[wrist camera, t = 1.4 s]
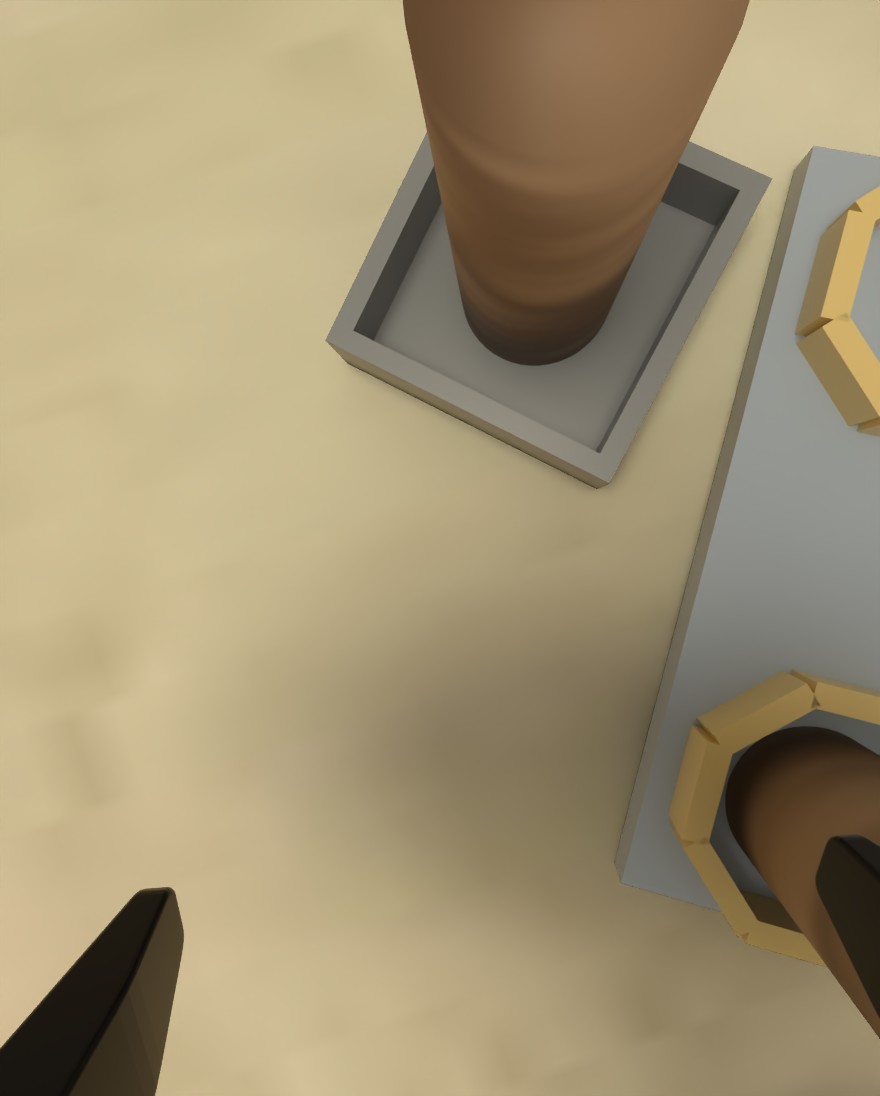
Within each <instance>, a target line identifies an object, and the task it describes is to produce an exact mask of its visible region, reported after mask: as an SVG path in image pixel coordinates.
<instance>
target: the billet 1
mask: <svg viewBox="0 0 880 1096" xmlns="http://www.w3.org/2000/svg"><path fill="white" fill-rule="evenodd" d="M748 4H749V0H403V7H404V16H405V25H406V30H407V35H408V39H409V44H410V49H411V54H412V59H413V64H414V69H415V74H416V79H417V84H418V89H419V93H420V98H421V103H422V108H423V113H424V118H425V123H426V128H427V133H428V138H429V143H430V147H431V152H432V157H433V162H434V167H435V172H436V177H437V182H438V187H439V192H440V196H441V201H442V206H443V211H444V216H445V221H446V226H447V231H448V236H449V241H450V246H451V250H452V255H453V260H454V265H455V270H456V275H457V280H458V285H459V290H460V295H461V300H462V304H463V309H464V313H465V317H466V319H467V322H468V324H469V326H470V328H471V330H472V332H473V333H474V335H475V336H476V337H477V339H478V340H479V341H480V342H481V343H482V344H483V345H484V346H485V347H486V348H487V349H488V350H489V351H491V352H492V353H493V354H495V355H497V356H499V357H500V358H502V359H505V360H507V361H509V362H513V363H516V364H520V365H528V366H540V365H547V364H552V363H556V362H559V361H562V360H564V359H567V358H569V357H571V356H572V355H574V354H576V353H577V352H579V351H580V350H581V349H583V348H584V347H585V346H586V345H587V344H588V343H589V342H590V341H591V340H592V339H593V338H594V337H595V336H596V334H597V333H598V332H599V330H600V329H601V327H602V326H603V324H604V322H605V320H606V318H607V316H608V313H609V311H610V309H611V307H612V305H613V303H614V301H615V298H616V296H617V294H618V292H619V290H620V288H621V286H622V283H623V281H624V279H625V277H626V275H627V273H628V270H629V268H630V266H631V264H632V262H633V260H634V258H635V255H636V253H637V251H638V249H639V247H640V245H641V242H642V240H643V238H644V236H645V234H646V232H647V230H648V227H649V225H650V223H651V221H652V219H653V217H654V214H655V212H656V210H657V208H658V206H659V204H660V202H661V199H662V197H663V195H664V193H665V191H666V189H667V187H668V184H669V182H670V180H671V178H672V176H673V174H674V171H675V169H676V167H677V165H678V163H679V161H680V159H681V156H682V154H683V152H684V150H685V148H686V146H687V143H688V141H689V139H690V137H691V135H692V133H693V131H694V128H695V126H696V124H697V122H698V120H699V118H700V116H701V113H702V111H703V109H704V107H705V105H706V103H707V100H708V98H709V96H710V94H711V92H712V90H713V88H714V85H715V83H716V81H717V79H718V77H719V75H720V72H721V70H722V68H723V66H724V64H725V62H726V60H727V57H728V55H729V53H730V51H731V49H732V47H733V44H734V42H735V40H736V38H737V35H738V33H739V31H740V29H741V26H742V24H743V20H744V17H745V14H746V10H747V7H748Z"/></svg>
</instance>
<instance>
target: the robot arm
mask: <svg viewBox="0 0 880 1096" xmlns="http://www.w3.org/2000/svg"><path fill="white" fill-rule="evenodd" d="M815 884H816V889H817V892H818V895H819V897H820V899H821V901H822V904H823V906H824V908H825V910H826V912H827V914H828V916H829V918H830V920H831V922H832V924H833V926H834V928H835V930H836V932H837V935H838V937H839V939H840V941H841V943H842V945H843V947H844V949H845V951H846V953H847V955H848V957H849V959H850V961H851V963H852V966H853V968H854V970H855V972H856V974H857V976H858V978H859V980H860V982H861V984H862V986H863V988H864V990H865V992H866V994H867V996H868V998H869V1000H870V1002H871V1004H872V1006H873V1008H874V1010H875V1012H876V1014H877V1015H878V1017H879V1019H880V846H879V845H877V844H876V843H874V842H873V841H871V840H869V839H868V838H866V837H864V836H861V835H857V834H850V835H837V836H832V837H831V838H829V839H828V841H827V843H826V845H825V848H824V851H823V854H822V857H821V860H820V863H819V866H818V869H817V872H816V875H815ZM183 942H184V930H183V925H182V921H181V916H180V912H179V907H178V903H177V898H176V894H175V892H174V890H173V889H172V888H170V887H162V888H149V889H143V890H140V891H139V892H137V893H136V894H135V895H134V896H133V897H132V898H131V899H130V900H129V902H128V903H127V904H126V905H125V906H124V907H123V908H122V910H121V911H120V912H119V913H118V914H117V915H116V916H115V918H114V919H113V920H112V921H111V922H110V923H109V924H108V926H107V927H106V928H105V929H104V930H103V931H102V932H101V934H100V935H99V936H98V937H97V938H96V939H95V940H94V942H93V943H92V944H91V945H90V946H89V947H88V948H87V950H86V951H85V952H84V953H83V954H82V955H81V957H80V958H79V959H78V960H77V961H76V962H75V963H74V965H73V966H72V967H71V968H70V969H69V970H68V971H67V973H66V974H65V975H64V976H63V977H62V978H61V979H60V981H59V982H58V983H57V984H56V985H55V986H54V987H53V989H52V990H51V991H50V992H49V993H48V994H47V995H46V997H45V998H44V999H43V1000H42V1001H41V1002H40V1003H39V1005H38V1006H37V1007H36V1008H35V1009H34V1010H33V1012H32V1013H31V1014H30V1015H29V1016H28V1017H27V1018H26V1020H25V1021H24V1022H23V1023H22V1024H21V1025H20V1026H19V1028H18V1029H17V1030H16V1031H15V1032H14V1033H13V1034H12V1036H11V1037H10V1038H9V1039H8V1040H7V1041H6V1042H5V1044H4V1045H3V1046H2V1047H1V1048H0V1096H155V1093H156V1089H157V1084H158V1079H159V1074H160V1070H161V1065H162V1059H163V1054H164V1048H165V1043H166V1037H167V1032H168V1027H169V1021H170V1016H171V1010H172V1005H173V999H174V994H175V989H176V983H177V978H178V972H179V967H180V961H181V956H182V950H183Z"/></svg>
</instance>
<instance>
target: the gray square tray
mask: <svg viewBox="0 0 880 1096" xmlns="http://www.w3.org/2000/svg"><path fill="white" fill-rule="evenodd" d="M771 180H772V178H770V177H768V176H765V175H763V174H761V173H759V172H756V171H754V170H752V169H750V168H748V167H745V166H743V165H741V164H739V163H736V162H734V161H732V160H730V159H727V158H725V157H723V156H721V155H719V154H716V153H714V152H712V151H710V150H707V149H705V148H703V147H701V146H698V145H696V144H694V143H692V142H690V141H688V143H687V146H686V148H685V150H684V152H683V154H682V156H681V159H680V161H679V163H678V165H677V167H676V169H675V171H674V174H673V176H672V178H671V180H670V182H669V184H668V187H667V189H666V191H665V193H664V195H663V197H662V199H661V202H660V204H659V206H658V208H657V210H656V212H655V214H654V217H653V219H652V221H651V223H650V225H649V227H648V230H647V232H646V234H645V236H644V238H643V240H642V242H641V245H640V247H639V249H638V251H637V253H636V255H635V258H634V260H633V262H632V264H631V266H630V268H629V270H628V273H627V275H626V277H625V279H624V281H623V283H622V286H621V288H620V290H619V292H618V294H617V296H616V298H615V301H614V303H613V305H612V307H611V309H610V311H609V313H608V316H607V318H606V320H605V322H604V324H603V326H602V327H601V329H600V330H599V332H598V333H597V334H596V336H595V337H594V338H593V339H592V340H591V341H590V342H589V343H588V344H587V345H586V346H585V347H584V348H583V349H581V350H580V351H579V352H577V353H576V354H574V355H572V356H571V357H569V358H567V359H564V360H562V361H559V362H556V363H552V364H547V365H540V366H528V365H520V364H516V363H513V362H509V361H507V360H505V359H502V358H500V357H499V356H497V355H495V354H493V353H492V352H491V351H489V350H488V349H487V348H486V347H485V346H484V345H483V344H482V343H481V342H480V341H479V340H478V339H477V337H476V336H475V335H474V333H473V332H472V330H471V328H470V326H469V324H468V322H467V319H466V317H465V313H464V309H463V304H462V300H461V295H460V290H459V285H458V280H457V275H456V270H455V265H454V260H453V255H452V250H451V246H450V241H449V236H448V231H447V226H446V221H445V216H444V211H443V206H442V201H441V196H440V192H439V187H438V182H437V177H436V172H435V167H434V162H433V157H432V152H431V147H430V143H429V138H428V133H426V135H425V137H424V139H423V141H422V143H421V145H420V147H419V150H418V152H417V154H416V156H415V158H414V160H413V162H412V164H411V166H410V168H409V170H408V172H407V174H406V176H405V178H404V180H403V182H402V184H401V187H400V189H399V191H398V193H397V195H396V197H395V199H394V201H393V203H392V205H391V207H390V209H389V211H388V213H387V215H386V217H385V219H384V221H383V223H382V226H381V228H380V230H379V232H378V234H377V236H376V238H375V240H374V242H373V244H372V246H371V248H370V250H369V252H368V254H367V256H366V258H365V260H364V262H363V265H362V267H361V269H360V271H359V273H358V275H357V277H356V279H355V281H354V283H353V285H352V287H351V289H350V291H349V293H348V295H347V297H346V299H345V301H344V304H343V306H342V308H341V310H340V312H339V314H338V316H337V318H336V320H335V322H334V324H333V326H332V328H331V330H330V332H329V334H328V336H327V338H326V341H327V343H328V344H329V345H330V346H331V347H332V348H333V349H334V350H335V351H336V352H337V353H338V354H339V355H340V356H341V357H342V358H343V359H344V360H345V361H346V362H347V363H348V364H350V365H352V366H354V367H356V368H358V369H360V370H362V371H364V372H366V373H368V374H370V375H372V376H374V377H376V378H378V379H380V380H382V381H384V382H386V383H388V384H390V385H392V386H394V387H396V388H398V389H400V390H402V391H404V392H406V393H408V394H410V395H412V396H414V397H415V398H417V399H419V400H421V401H423V402H425V403H427V404H429V405H431V406H433V407H435V408H437V409H439V410H441V411H443V412H445V413H447V414H449V415H451V416H453V417H455V418H457V419H459V420H461V421H463V422H465V423H467V424H469V425H471V426H473V427H475V428H477V429H479V430H481V431H483V432H485V433H487V434H489V435H491V436H493V437H495V438H497V439H499V440H501V441H503V442H505V443H507V444H509V445H511V446H513V447H515V448H517V449H519V450H521V451H523V452H525V453H527V454H529V455H531V456H532V457H534V458H536V459H538V460H540V461H542V462H544V463H546V464H548V465H550V466H552V467H554V468H556V469H558V470H560V471H562V472H564V473H566V474H568V475H570V476H572V477H574V478H576V479H578V480H580V481H582V482H584V483H586V484H588V485H590V486H592V487H594V488H596V489H597V488H600V487H602V486H604V485H606V484H609V483H610V481H611V479H612V477H613V475H614V474H615V472H616V470H617V468H618V466H619V464H620V462H621V460H622V459H623V457H624V455H625V453H626V451H627V449H628V447H629V446H630V444H631V442H632V440H633V438H634V436H635V434H636V432H637V431H638V429H639V427H640V425H641V423H642V421H643V419H644V417H645V416H646V414H647V412H648V410H649V408H650V406H651V404H652V403H653V401H654V399H655V397H656V395H657V393H658V391H659V389H660V388H661V386H662V384H663V382H664V380H665V378H666V376H667V375H668V373H669V371H670V369H671V367H672V365H673V363H674V361H675V360H676V358H677V356H678V354H679V352H680V350H681V348H682V346H683V345H684V343H685V341H686V339H687V337H688V335H689V333H690V332H691V330H692V328H693V326H694V324H695V322H696V320H697V318H698V317H699V315H700V313H701V311H702V309H703V307H704V305H705V303H706V302H707V300H708V298H709V296H710V294H711V292H712V290H713V289H714V287H715V285H716V283H717V281H718V279H719V277H720V275H721V274H722V272H723V270H724V268H725V266H726V264H727V262H728V261H729V259H730V257H731V255H732V253H733V251H734V249H735V247H736V246H737V244H738V242H739V240H740V238H741V236H742V234H743V232H744V231H745V229H746V227H747V225H748V223H749V221H750V219H751V218H752V216H753V214H754V212H755V210H756V208H757V206H758V204H759V203H760V201H761V199H762V197H763V195H764V193H765V191H766V189H767V188H768V186H769V184H770V182H771Z"/></svg>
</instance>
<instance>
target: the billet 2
mask: <svg viewBox="0 0 880 1096" xmlns="http://www.w3.org/2000/svg"><path fill="white" fill-rule="evenodd" d="M725 808H726V816H727V820H728V824H729V827H730V829H731V832H732V834H733V836H734V838H735V840H736V842H737V843H738V845H739V846H740V848H741V849H742V850H743V852H744V853H745V854H746V856H747V857H748V858H749V860H750V861H751V863H752V864H753V865H754V867H755V868H756V869H757V871H758V872H759V874H760V875H761V876H762V878H763V879H764V880H765V882H766V883H767V885H768V886H769V887H770V889H771V890H772V891H773V893H774V894H775V896H776V897H777V898H778V900H779V901H780V902H781V904H782V905H783V907H784V908H785V909H786V911H787V912H788V913H789V915H790V916H791V917H792V919H793V920H794V922H795V923H796V924H797V926H798V927H799V928H800V930H801V931H802V933H803V934H804V935H805V937H806V938H807V939H808V941H809V942H810V944H811V945H812V946H813V948H814V949H815V950H816V952H817V953H818V955H819V956H820V957H821V959H822V960H823V961H824V963H825V964H826V966H827V967H828V968H829V970H830V971H831V972H832V974H833V975H834V976H835V978H836V979H837V981H838V982H839V983H840V985H841V986H842V987H843V989H844V990H845V992H846V993H847V994H848V996H849V997H850V998H851V1000H852V1001H853V1003H854V1004H855V1005H856V1007H857V1008H858V1009H859V1011H860V1012H861V1014H862V1015H863V1016H864V1018H865V1019H866V1020H867V1022H868V1023H869V1024H870V1026H871V1027H872V1029H873V1030H874V1031H875V1033H876V1034H877V1035H878V1037H879V1038H880V1019H879V1017H878V1015H877V1014H876V1012H875V1010H874V1008H873V1006H872V1004H871V1002H870V1000H869V998H868V996H867V994H866V992H865V990H864V988H863V986H862V984H861V982H860V980H859V978H858V976H857V974H856V972H855V970H854V968H853V966H852V963H851V961H850V959H849V957H848V955H847V953H846V951H845V949H844V947H843V945H842V943H841V941H840V939H839V937H838V935H837V932H836V930H835V928H834V926H833V924H832V922H831V920H830V918H829V916H828V914H827V912H826V910H825V908H824V906H823V904H822V901H821V899H820V897H819V895H818V892H817V889H816V884H815V875H816V872H817V869H818V866H819V863H820V860H821V857H822V854H823V851H824V848H825V845H826V843H827V841H828V839H829V838H831V837H832V836H837V835H850V834H857V835H861V836H864V837H866V838H868V839H869V840H871V841H873V842H874V843H876V844H877V845H879V846H880V755H878V754H876V753H875V752H873V751H871V750H870V749H868V748H866V747H865V746H863V745H862V744H860V743H858V742H857V741H855V740H853V739H852V738H850V737H848V736H846V735H844V734H842V733H839V732H837V731H834V730H830V729H827V728H821V727H812V726H801V727H792V728H787V729H783V730H780V731H777V732H774V733H772V734H769V735H767V736H765V737H763V738H762V739H760V740H759V741H757V742H756V743H754V744H753V745H752V746H751V747H750V748H749V749H748V750H747V751H746V752H745V753H744V754H743V755H742V756H741V757H740V759H739V760H738V762H737V763H736V765H735V767H734V769H733V771H732V773H731V775H730V778H729V781H728V784H727V789H726V796H725Z"/></svg>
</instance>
